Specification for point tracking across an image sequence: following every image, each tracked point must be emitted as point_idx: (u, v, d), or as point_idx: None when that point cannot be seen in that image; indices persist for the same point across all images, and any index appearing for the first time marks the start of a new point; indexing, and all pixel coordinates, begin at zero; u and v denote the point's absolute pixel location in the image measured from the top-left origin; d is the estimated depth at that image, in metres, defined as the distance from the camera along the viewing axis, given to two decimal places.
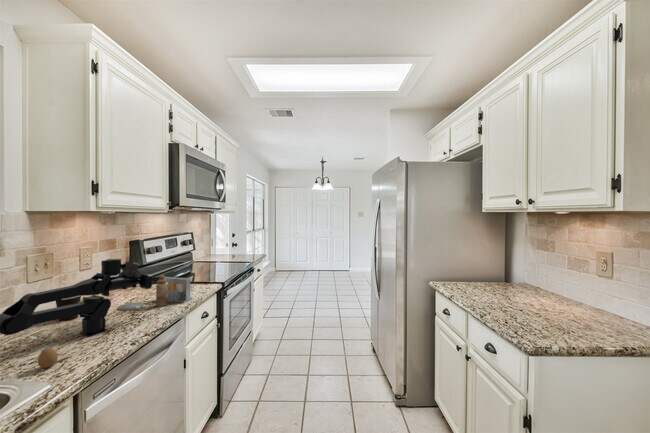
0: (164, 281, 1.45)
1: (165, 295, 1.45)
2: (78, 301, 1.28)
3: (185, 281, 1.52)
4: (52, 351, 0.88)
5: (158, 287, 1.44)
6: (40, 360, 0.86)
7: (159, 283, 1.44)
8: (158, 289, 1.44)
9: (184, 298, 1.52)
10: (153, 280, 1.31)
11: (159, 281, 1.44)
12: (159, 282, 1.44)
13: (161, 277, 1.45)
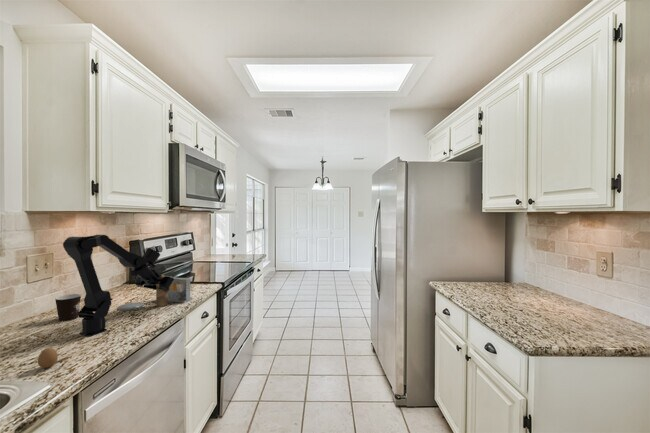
0: None
1: (165, 295, 1.45)
2: (78, 301, 1.28)
3: (185, 281, 1.52)
4: (52, 351, 0.88)
5: (158, 287, 1.44)
6: (40, 360, 0.86)
7: (159, 283, 1.44)
8: (158, 289, 1.44)
9: (184, 298, 1.52)
10: None
11: None
12: None
13: (161, 277, 1.45)
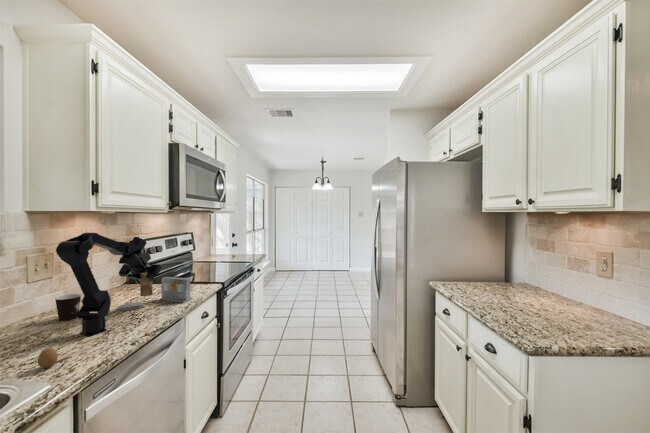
0: None
1: (150, 284, 1.45)
2: (78, 301, 1.28)
3: (185, 281, 1.52)
4: (52, 351, 0.88)
5: (144, 276, 1.43)
6: (40, 360, 0.86)
7: None
8: (143, 278, 1.43)
9: (184, 298, 1.52)
10: None
11: None
12: None
13: (146, 266, 1.44)
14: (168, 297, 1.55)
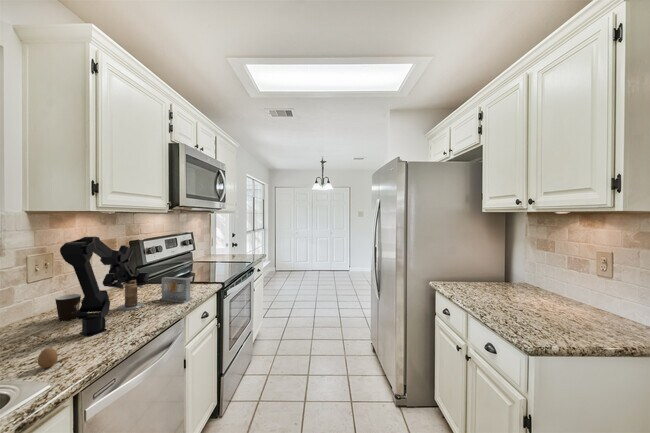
0: (135, 281, 1.43)
1: (136, 295, 1.44)
2: (78, 301, 1.28)
3: (185, 281, 1.52)
4: (52, 351, 0.88)
5: (130, 287, 1.41)
6: (40, 360, 0.86)
7: (130, 283, 1.42)
8: (129, 289, 1.41)
9: (184, 298, 1.52)
10: None
11: (130, 281, 1.42)
12: (130, 282, 1.42)
13: None
14: (168, 297, 1.55)
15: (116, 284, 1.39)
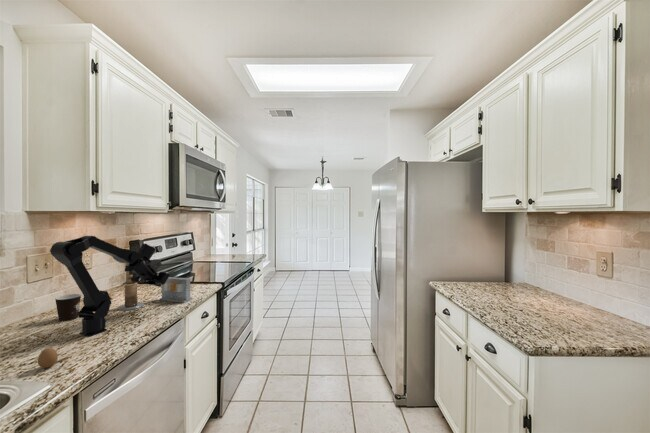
0: None
1: (136, 295, 1.44)
2: (78, 301, 1.28)
3: (185, 281, 1.52)
4: (52, 351, 0.88)
5: (129, 287, 1.41)
6: (40, 360, 0.86)
7: (129, 283, 1.42)
8: (129, 289, 1.41)
9: (184, 298, 1.52)
10: None
11: (129, 281, 1.42)
12: (129, 282, 1.42)
13: None
14: (168, 297, 1.55)
15: (150, 282, 1.40)
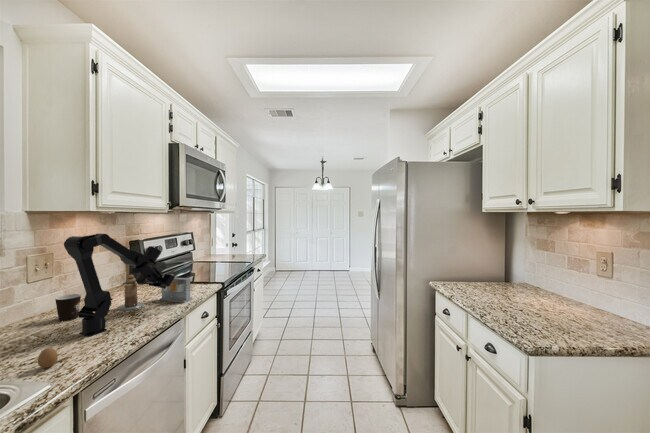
0: (134, 281, 1.44)
1: (136, 295, 1.44)
2: (78, 301, 1.28)
3: (185, 281, 1.52)
4: (52, 351, 0.88)
5: (129, 287, 1.41)
6: (40, 360, 0.86)
7: (129, 283, 1.42)
8: (129, 289, 1.41)
9: (184, 298, 1.52)
10: None
11: (129, 281, 1.42)
12: (129, 282, 1.42)
13: (131, 277, 1.43)
14: (168, 297, 1.55)
15: (155, 283, 1.43)
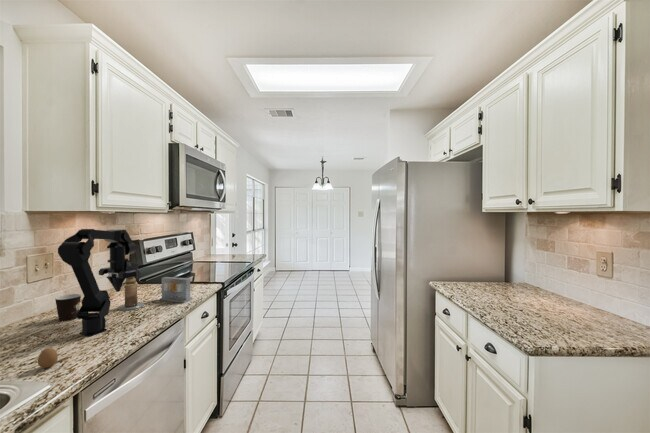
0: (134, 281, 1.43)
1: (136, 295, 1.44)
2: (78, 301, 1.28)
3: (185, 281, 1.52)
4: (52, 351, 0.88)
5: (129, 287, 1.41)
6: (40, 360, 0.86)
7: (129, 283, 1.42)
8: (129, 289, 1.41)
9: (184, 298, 1.52)
10: (118, 283, 1.28)
11: (129, 281, 1.42)
12: (129, 282, 1.42)
13: (131, 277, 1.43)
14: (168, 297, 1.55)
15: None
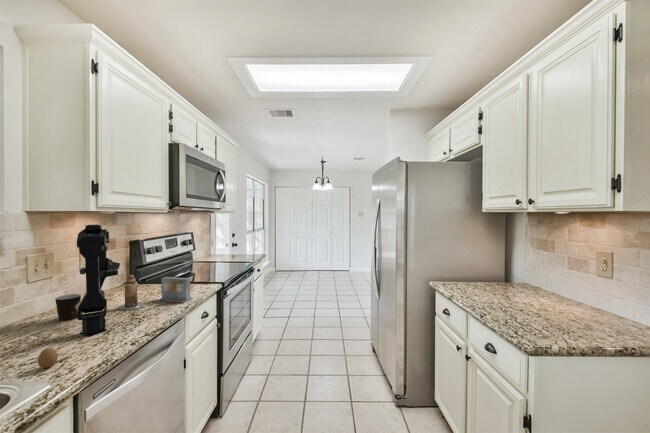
0: (134, 281, 1.44)
1: (136, 295, 1.44)
2: (78, 301, 1.28)
3: (185, 281, 1.52)
4: (52, 351, 0.88)
5: (129, 287, 1.41)
6: (40, 360, 0.86)
7: (129, 283, 1.42)
8: (129, 289, 1.41)
9: (184, 298, 1.52)
10: (99, 282, 1.30)
11: (129, 281, 1.42)
12: (129, 282, 1.42)
13: (131, 277, 1.43)
14: (168, 297, 1.55)
15: None
